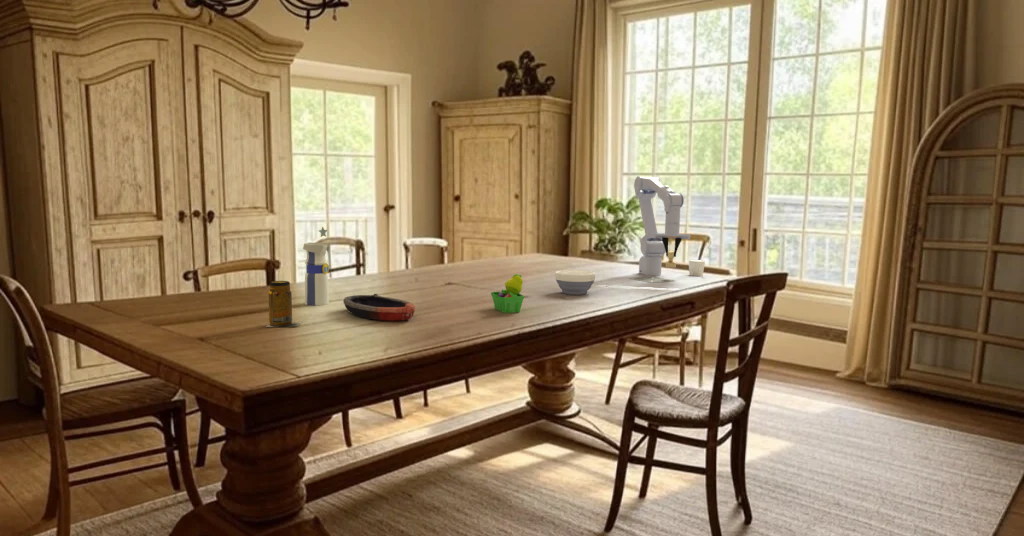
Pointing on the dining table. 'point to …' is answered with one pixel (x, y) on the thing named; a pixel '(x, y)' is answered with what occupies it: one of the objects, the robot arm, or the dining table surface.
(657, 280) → the cover plate
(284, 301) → the condiment
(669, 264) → the t key
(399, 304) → the dish
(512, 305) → the fruit basket
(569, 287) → the bowl
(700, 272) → the beige cylinder
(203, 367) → the dining table surface
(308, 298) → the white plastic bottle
